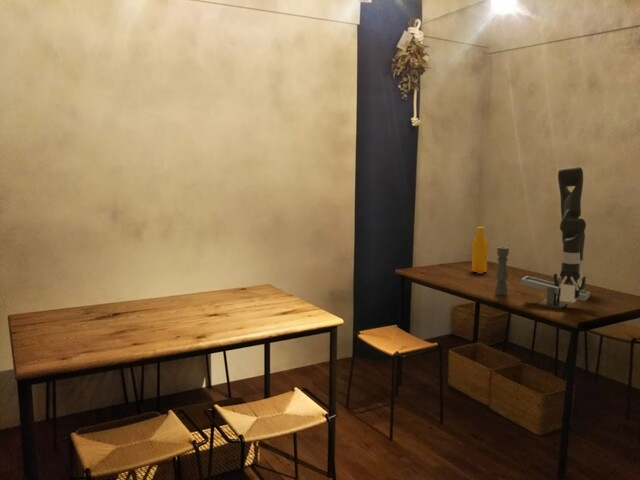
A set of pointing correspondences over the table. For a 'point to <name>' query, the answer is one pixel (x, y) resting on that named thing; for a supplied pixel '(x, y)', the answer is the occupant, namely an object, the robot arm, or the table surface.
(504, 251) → the candle holder
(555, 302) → the pivot stand
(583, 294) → the beam
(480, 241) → the beer bottle
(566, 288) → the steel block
